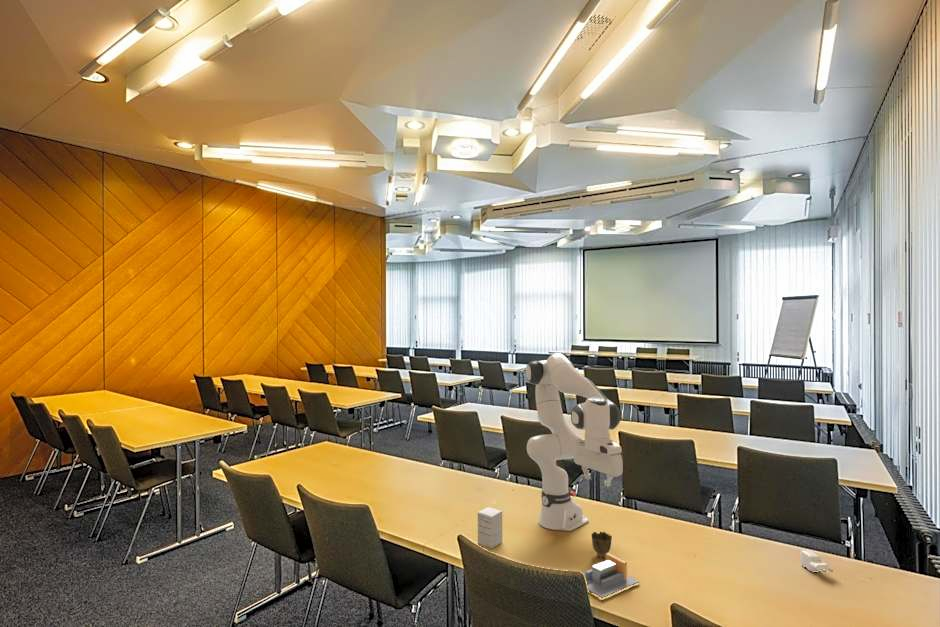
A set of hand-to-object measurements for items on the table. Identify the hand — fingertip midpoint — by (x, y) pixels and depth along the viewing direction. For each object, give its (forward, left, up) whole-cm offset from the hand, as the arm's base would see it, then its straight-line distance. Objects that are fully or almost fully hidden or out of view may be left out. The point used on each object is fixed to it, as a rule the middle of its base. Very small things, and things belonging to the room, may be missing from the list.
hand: (597, 482), depth 181 cm
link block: (+5, +8, -30) cm, 31 cm away
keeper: (+5, +8, -31) cm, 32 cm away
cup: (-9, -6, -31) cm, 33 cm away
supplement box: (+20, -38, -31) cm, 53 cm away
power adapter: (-64, +44, -31) cm, 84 cm away
